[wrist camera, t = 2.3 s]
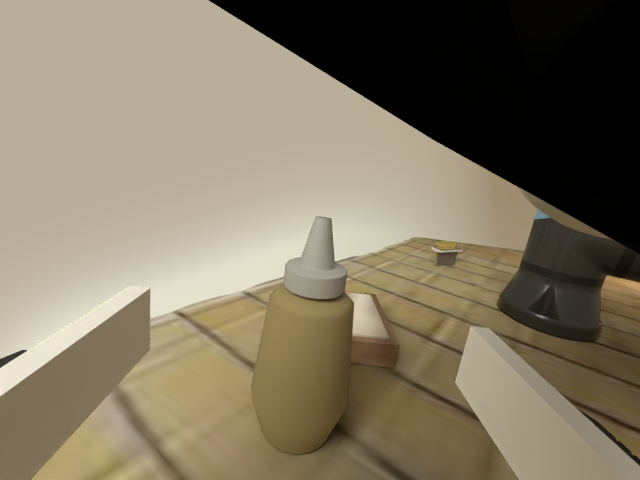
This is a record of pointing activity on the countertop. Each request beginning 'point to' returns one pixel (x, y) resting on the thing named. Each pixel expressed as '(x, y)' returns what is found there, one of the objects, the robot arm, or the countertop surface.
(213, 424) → the countertop surface
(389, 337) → the picture frame
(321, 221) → the squeeze bottle
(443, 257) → the platform
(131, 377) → the countertop surface
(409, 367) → the countertop surface
